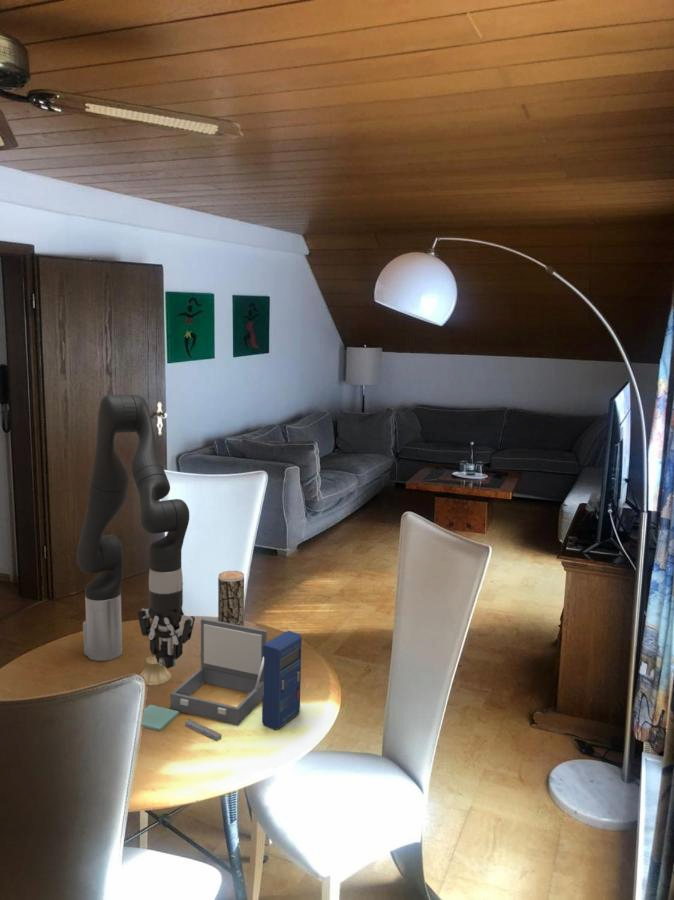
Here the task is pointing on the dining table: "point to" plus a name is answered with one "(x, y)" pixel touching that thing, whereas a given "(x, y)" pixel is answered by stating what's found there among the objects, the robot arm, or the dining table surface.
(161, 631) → the push button
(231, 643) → the case
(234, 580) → the brown bark-textured cylinder
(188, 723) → the rod
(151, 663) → the hand bell
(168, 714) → the pad
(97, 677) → the dining table surface
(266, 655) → the electronic device
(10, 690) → the dining table surface
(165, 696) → the dining table surface
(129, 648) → the dining table surface
